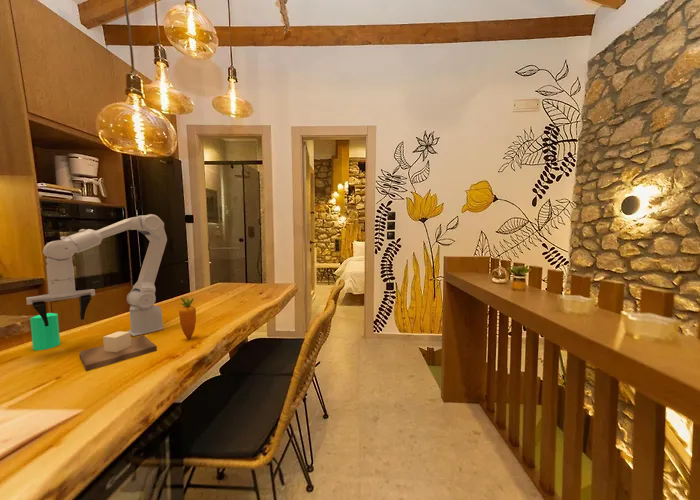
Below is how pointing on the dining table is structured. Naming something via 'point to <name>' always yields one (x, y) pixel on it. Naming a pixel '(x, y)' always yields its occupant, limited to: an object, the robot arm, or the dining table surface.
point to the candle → (45, 332)
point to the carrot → (187, 317)
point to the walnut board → (116, 353)
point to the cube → (117, 341)
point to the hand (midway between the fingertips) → (65, 322)
